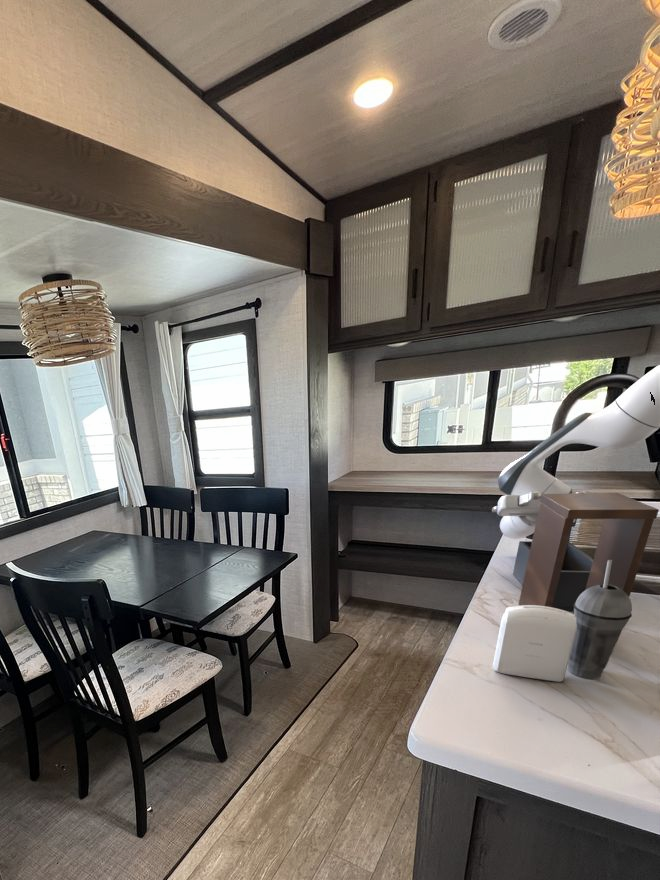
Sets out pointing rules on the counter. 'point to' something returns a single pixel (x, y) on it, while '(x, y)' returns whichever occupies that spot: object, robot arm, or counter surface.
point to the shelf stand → (617, 543)
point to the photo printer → (535, 642)
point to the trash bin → (570, 576)
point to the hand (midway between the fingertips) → (558, 494)
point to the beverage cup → (598, 627)
